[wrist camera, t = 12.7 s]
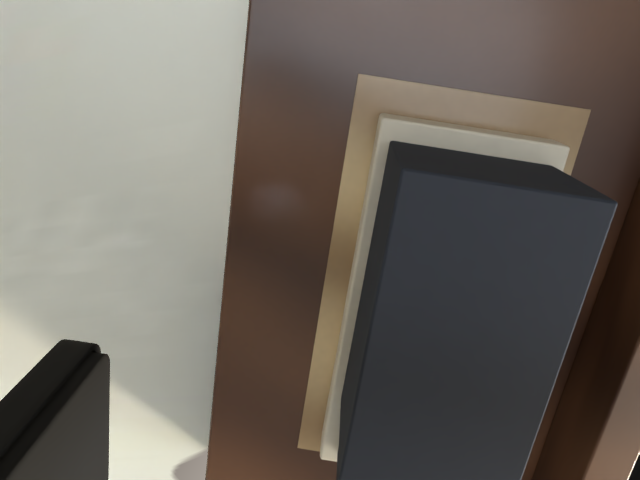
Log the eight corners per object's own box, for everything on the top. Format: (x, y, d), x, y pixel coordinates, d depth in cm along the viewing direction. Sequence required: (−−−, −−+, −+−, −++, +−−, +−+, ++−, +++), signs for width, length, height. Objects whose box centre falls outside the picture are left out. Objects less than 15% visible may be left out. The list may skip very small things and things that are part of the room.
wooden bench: (286, -120, 16) (243, -232, 10) (687, -60, 15) (898, -134, 9) (224, 462, 23) (178, 606, 17) (496, 507, 23) (546, 668, 17)
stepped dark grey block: (379, 112, 14) (390, 137, 9) (554, 139, 14) (646, 177, 9) (321, 433, 17) (309, 560, 13) (460, 456, 17) (496, 592, 13)
